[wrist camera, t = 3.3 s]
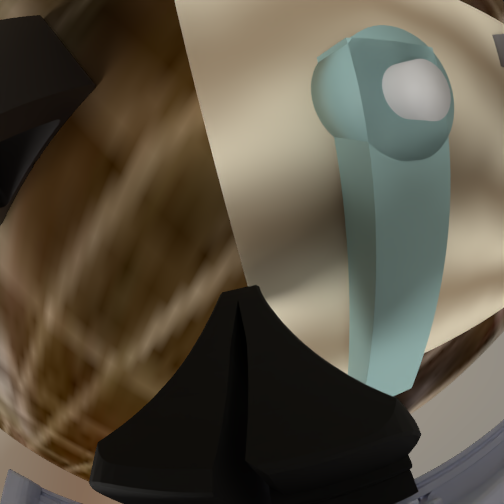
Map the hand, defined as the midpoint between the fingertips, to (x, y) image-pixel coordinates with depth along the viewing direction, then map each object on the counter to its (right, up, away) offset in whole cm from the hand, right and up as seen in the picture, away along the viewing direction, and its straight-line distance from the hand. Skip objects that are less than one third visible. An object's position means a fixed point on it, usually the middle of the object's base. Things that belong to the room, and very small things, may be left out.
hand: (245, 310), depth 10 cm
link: (+5, +2, 0) cm, 6 cm away
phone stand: (-11, +8, -2) cm, 14 cm away
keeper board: (+10, +5, +1) cm, 12 cm away
